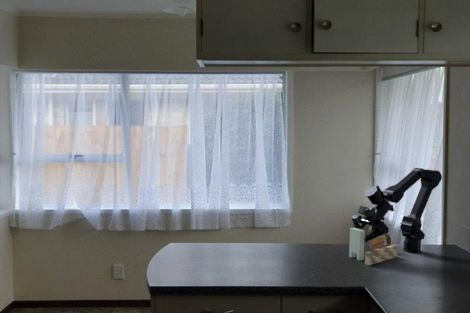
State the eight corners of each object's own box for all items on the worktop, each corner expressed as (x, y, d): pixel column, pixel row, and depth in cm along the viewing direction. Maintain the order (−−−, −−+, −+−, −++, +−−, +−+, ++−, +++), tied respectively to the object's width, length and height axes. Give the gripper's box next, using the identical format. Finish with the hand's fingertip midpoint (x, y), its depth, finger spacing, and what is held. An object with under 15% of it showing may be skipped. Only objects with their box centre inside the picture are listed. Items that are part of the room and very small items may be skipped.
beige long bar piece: (392, 255, 220) (393, 244, 219) (397, 256, 218) (397, 245, 218) (364, 264, 205) (365, 252, 205) (369, 265, 204) (369, 253, 203)
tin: (364, 245, 238) (365, 228, 238) (369, 245, 239) (370, 227, 239) (386, 253, 225) (387, 234, 224) (391, 252, 226) (392, 234, 225)
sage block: (353, 256, 218) (354, 227, 217) (363, 259, 212) (364, 230, 211) (349, 256, 217) (349, 228, 216) (359, 260, 211) (360, 231, 210)
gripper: (355, 196, 224) (334, 222, 220) (384, 202, 207) (362, 230, 203) (368, 213, 228) (347, 238, 224) (398, 220, 211) (377, 248, 207)
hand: (358, 238), depth 214 cm, fingers open, 9 cm apart
